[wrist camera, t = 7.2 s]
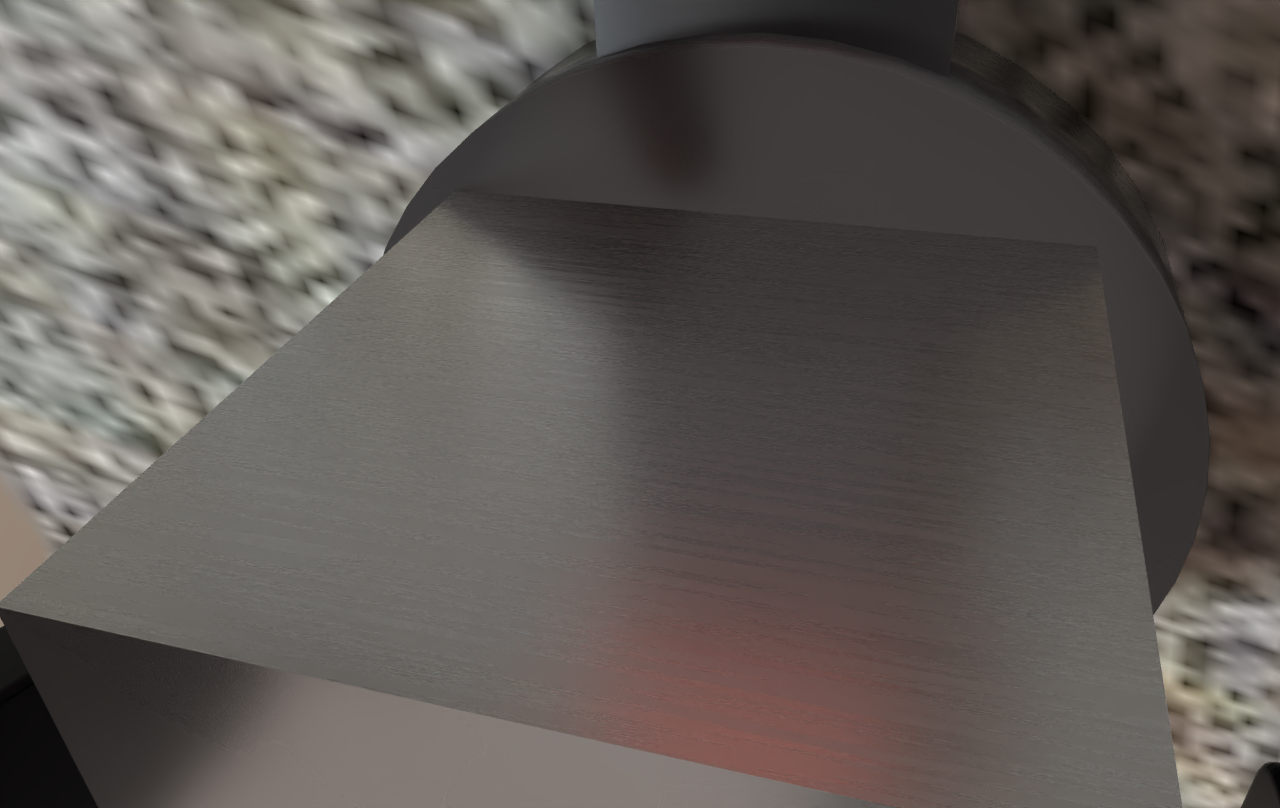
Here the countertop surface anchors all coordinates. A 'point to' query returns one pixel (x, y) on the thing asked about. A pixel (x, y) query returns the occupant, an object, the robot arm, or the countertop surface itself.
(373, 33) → the countertop surface
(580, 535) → the brushed metal cube
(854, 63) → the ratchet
